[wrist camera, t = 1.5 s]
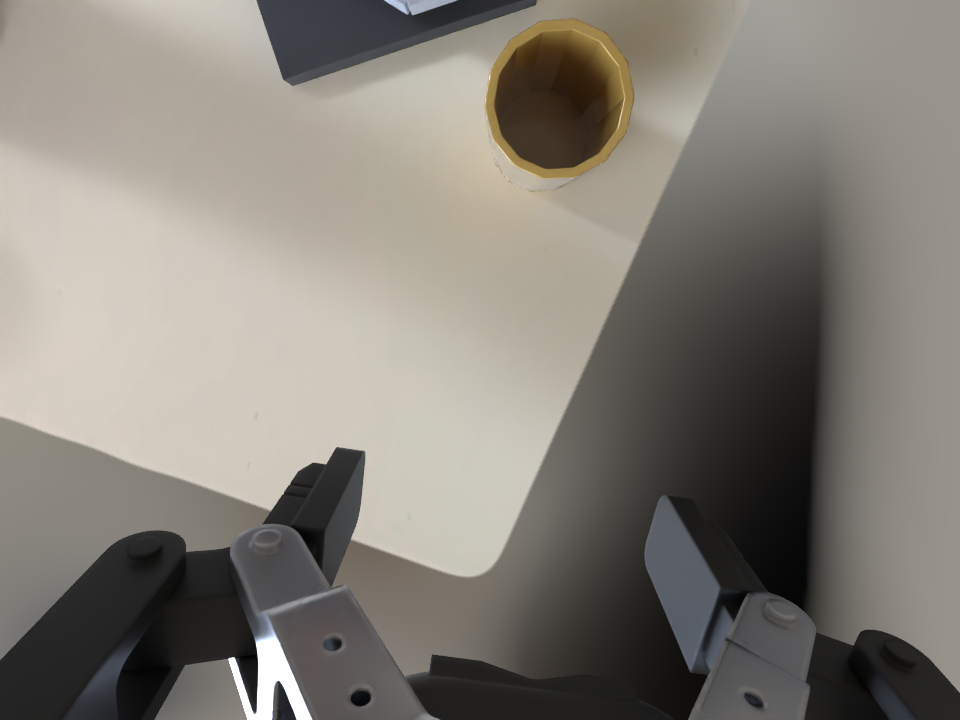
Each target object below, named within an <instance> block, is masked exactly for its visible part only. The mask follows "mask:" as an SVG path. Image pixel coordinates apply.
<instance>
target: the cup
mask: <svg viewBox="0 0 960 720" xmlns="http://www.w3.org/2000/svg"><path fill="white" fill-rule="evenodd" d="M633 101H634V92H633V87H632V82H631V77H630V72H629V66H628V62H627V60H626V59H625V57H624V56H623V55H622V53H621V52H620V51H619V49H618V48H617V47H616V45H615V44H614V43H613V41H612V40H611V39H610V37H609V36H608V35H607V34H606V33H605V32H603V31H601V30H599V29H597V28H595V27H592V26H590V25H588V24H586V23H584V22H582V21H580V20H577V19H560V20H546V21H541V22H538V23H536V24H535V25H533V26H532V27H530V28H528V29H527V30H525V31H523V32H522V33H520V34H519V35H517V36H515V37H514V38H512V39H511V40H510V41H509V42H508V44H507V45H506V47H505V48H504V50H503V52H502V53H501V55H500V56H499V58H498V59H497V61H496V62H495V64H494V65H493V67H492V68H491V71H490V75H489V81H488V87H487V93H486V100H485V113H486V120H487V127H488V134H489V141H490V146H491V149H492V154H493V157H494V161H495V164H496V166H497V167H498V168H499V170H500V171H501V173H502V174H503V175H504V176H505V177H506V178H507V179H508V180H509V182H511V183H512V184H514V185H516V186H518V187H520V188H522V189H525V190H528V191H530V192H543V191H553V190H556V189H557V188H559V187H561V186H563V185H565V184H566V183H568V182H570V181H572V180H573V179H575V178H577V177H579V176H580V175H582V174H584V173H585V172H587V171H589V170H591V169H592V168H594V167H596V166H597V165H599V164H601V163H602V162H604V161H605V160H606V159H607V158H608V157H609V155H610V154H611V152H612V151H613V150H614V148H615V147H616V146H617V144H618V143H619V142H620V140H621V139H622V137H623V136H624V135H625V133H626V131H627V127H628V123H629V118H630V114H631V110H632V105H633Z"/></svg>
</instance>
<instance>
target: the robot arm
mask: <svg viewBox="0 0 960 720" xmlns="http://www.w3.org/2000/svg"><path fill="white" fill-rule="evenodd" d="M364 466H365V451H360V450H353V449H346V448H339V447H337V448H336V449H335V451H334V452H333V454H332V456H331V457H330V459H329V461H328V462H327V464H319V463H312V464H310V465H308V466H307V467H305V468H303V469H302V470H300V471H298V473H297V474H296V476H295V477H294V479H293V480H292V482H291V484H290V485H289V486H288V487H287V489H286V490H285V492H284V495H282V496H281V498H280V499H279V501H278V502H277V504H276V505H275V506H274V508H273V509H272V511H271V512H270V514H269V515H268V517H267V518H266V520H265V521H264V523H263V524H262V525H258V526H255V527H252V528H249V529H247V530H245V531H243V532H241V533H240V534H239V535H237V536H236V538H234V540H233V541H232V543H231V546H230V547H228V548H224V549H218V550H208V551H207V550H206V551H194V552H186V544H185V541H184V539H183V538H181V537H180V536H179V535H177V534H175V533H172V532H167V531H146V532H141V533H137V534H133V535H130V536H128V537H125V538H123V539H121V540H119V541H117V542H116V543H114V544H113V545H111V546H110V547H109V548H108V549H107V550H106V551H105V552H104V553H103V554H102V555H101V556H100V557H99V558H98V559H97V560H96V561H95V562H94V563H93V565H92V566H91V567H90V568H89V569H88V570H87V571H86V572H85V573H84V574H83V575H82V576H81V577H80V578H79V579H78V580H77V581H76V582H75V583H74V584H73V586H71V587H70V588H69V590H67V592H66V593H65V594H64V595H63V596H62V597H61V598H60V599H59V600H58V601H57V602H56V603H55V604H54V605H53V606H52V607H51V608H50V609H49V610H48V611H47V612H46V613H45V614H44V616H42V618H41V619H40V620H39V621H38V622H37V623H36V624H35V625H34V626H33V627H32V628H31V629H30V630H29V631H28V632H27V633H26V634H25V635H24V636H23V637H22V638H21V639H20V640H19V641H18V642H17V643H16V645H15V646H14V647H13V648H12V649H11V650H10V651H9V652H8V653H7V654H6V655H5V656H4V657H3V658H2V659H1V660H0V720H154V719H155V717H156V715H157V714H158V712H159V710H160V708H161V707H162V705H163V703H164V701H165V700H166V698H167V696H168V694H169V692H170V691H171V689H172V687H173V685H174V684H175V682H176V680H177V678H178V676H179V675H180V673H181V671H182V669H183V667H184V666H185V665H188V664H195V663H201V662H208V661H215V660H222V659H229V662H230V665H231V668H232V671H233V674H234V678H235V681H236V684H237V687H238V690H239V693H240V697H241V700H242V703H243V706H244V709H245V712H246V715H247V719H248V720H674V719H673V718H671V717H670V716H668V715H667V714H665V713H663V712H662V711H660V710H659V709H657V708H655V707H653V706H651V705H649V704H647V703H645V702H642V701H640V700H637V696H636V693H635V690H634V686H633V683H632V681H627V680H620V679H613V678H605V677H598V676H590V675H575V676H566V677H557V678H547V679H530V678H527V677H524V676H521V675H519V674H516V673H513V672H510V671H507V670H505V669H502V668H499V667H496V666H494V665H491V664H488V663H485V662H483V661H477V660H469V659H462V658H454V657H446V656H439V655H432V657H431V664H430V670H429V672H422V673H417V674H413V675H409V676H405V677H404V675H403V674H402V672H401V670H400V669H399V667H398V665H397V664H396V662H395V661H394V659H393V657H392V656H391V654H390V653H389V651H388V649H387V648H386V646H385V645H384V643H383V641H382V640H381V638H380V637H379V635H378V634H377V632H376V630H375V629H374V627H373V625H372V624H371V622H370V621H369V619H368V618H367V616H366V614H365V613H364V611H363V609H362V608H361V606H360V605H359V603H358V601H357V600H356V598H355V597H354V595H353V593H352V592H351V591H350V589H349V588H348V587H347V586H345V585H340V586H337V587H335V588H331V587H332V584H333V582H334V579H335V577H336V574H337V572H338V569H339V567H340V564H341V562H342V559H343V557H344V554H345V552H346V549H347V547H348V544H349V542H350V539H351V537H352V534H353V532H354V529H355V527H356V524H357V520H358V516H359V511H360V505H361V496H362V486H363V476H364ZM645 564H646V568H647V570H648V572H649V575H650V577H651V579H652V582H653V584H654V587H655V589H656V592H657V594H658V596H659V598H660V601H661V603H662V606H663V608H664V610H665V613H666V615H667V617H668V620H669V622H670V625H671V627H672V629H673V631H674V634H675V636H676V639H677V641H678V643H679V646H680V648H681V650H682V653H683V655H684V658H685V660H686V662H687V665H688V667H689V669H690V672H693V673H700V674H707V675H708V677H707V679H706V681H705V684H704V686H703V688H702V690H701V692H700V695H699V697H698V699H697V701H696V704H695V706H694V708H693V710H692V712H691V715H690V717H689V719H688V720H960V693H959V692H958V691H957V689H956V688H955V687H954V686H953V685H952V684H951V683H950V681H949V680H948V679H947V678H946V677H945V676H944V675H943V674H942V673H941V671H940V670H939V669H938V668H937V667H936V666H935V665H934V664H933V662H932V661H931V660H930V659H929V658H928V657H926V656H925V655H924V654H923V653H922V652H920V651H919V650H918V649H916V648H915V647H913V646H912V645H910V644H909V643H907V642H905V641H904V640H902V639H900V638H898V637H895V636H893V635H891V634H888V633H885V632H882V631H877V630H864V631H862V632H860V634H859V635H858V638H857V640H856V642H855V644H854V646H852V645H850V644H847V643H844V642H841V641H838V640H835V639H832V638H830V637H827V636H824V635H821V634H819V633H816V629H815V626H814V624H813V622H812V621H811V619H810V618H809V617H808V616H807V614H806V613H804V612H803V611H802V610H801V609H800V608H798V607H797V606H796V605H794V604H793V603H791V602H790V601H788V600H786V599H784V598H782V597H780V596H777V595H774V594H771V593H768V592H767V590H766V589H765V587H764V586H763V585H762V583H761V582H760V581H759V579H758V578H757V576H756V575H755V573H754V572H753V570H752V569H751V568H750V566H749V565H748V563H747V562H746V561H744V558H743V556H742V555H741V553H740V552H739V550H736V546H735V545H734V543H733V542H732V541H731V539H730V538H729V536H728V535H727V533H726V532H724V531H723V530H722V529H721V528H719V527H718V526H717V525H716V524H714V523H713V522H712V521H710V520H706V519H705V517H704V516H703V514H702V513H701V511H700V510H699V509H698V507H697V505H696V504H695V502H694V501H693V500H692V499H688V498H681V497H673V496H666V495H663V496H661V497H660V499H659V501H658V504H657V507H656V511H655V514H654V518H653V521H652V524H651V528H650V531H649V535H648V538H647V542H646V546H645Z"/></svg>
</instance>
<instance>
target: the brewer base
mask: <svg viewBox="0 0 960 720" xmlns="http://www.w3.org/2000/svg"><path fill="white" fill-rule="evenodd" d="M257 3H258V6H259V9H260V12H261V15H262V18H263V21H264V24H265V27H266V30H267V33H268V36H269V39H270V42H271V45H272V48H273V51H274V53H275V56H276V59H277V62H278V65H279V68H280V71H281V74H282V77H283V80H285V81H286V82H288V83H289V84H291V85H296V84H299V83H302V82H305V81H308V80H311V79H314V78H317V77H320V76H323V75H326V74H329V73H332V72H335V71H338V70H341V69H344V68H347V67H350V66H353V65H356V64H359V63H362V62H365V61H368V60H371V59H374V58H377V57H380V56H383V55H386V54H389V53H392V52H395V51H398V50H402V49H405V48H408V47H411V46H414V45H417V44H420V43H423V42H426V41H429V40H432V39H435V38H438V37H441V36H444V35H447V34H450V33H453V32H456V31H459V30H462V29H465V28H468V27H471V26H474V25H477V24H480V23H483V22H486V21H489V20H492V19H495V18H498V17H501V16H504V15H507V14H510V13H513V12H516V11H519V10H522V9H525V8H528V7H531V6H534V5H536V0H457V1H454V2H451V3H448V4H445V5H442V6H439V7H436V8H433V9H430V10H427V11H424V12H421V13H418V14H415V15H412V14H411V12H410V13H409V14H406V13H404V12H402V11H401V10H399V9H397V8H396V7H394V6H393V5H391V4H389V3H388V2H386V1H384V0H257Z"/></svg>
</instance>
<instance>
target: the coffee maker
mask: <svg viewBox="0 0 960 720" xmlns="http://www.w3.org/2000/svg"><path fill="white" fill-rule="evenodd" d="M384 1H386V2H388V3H389V4H391V5H393V6H394V7H396V8H397V9H399V10H401V11H402V12H404V13H406V14H409V13H410V12H411V14H412V15H415V14H418V13H421V12H424V11H427V10H430V9H433V8H436V7H439V6H442V5H445V4H448V3H451V2H454V1H457V0H384Z"/></svg>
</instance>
